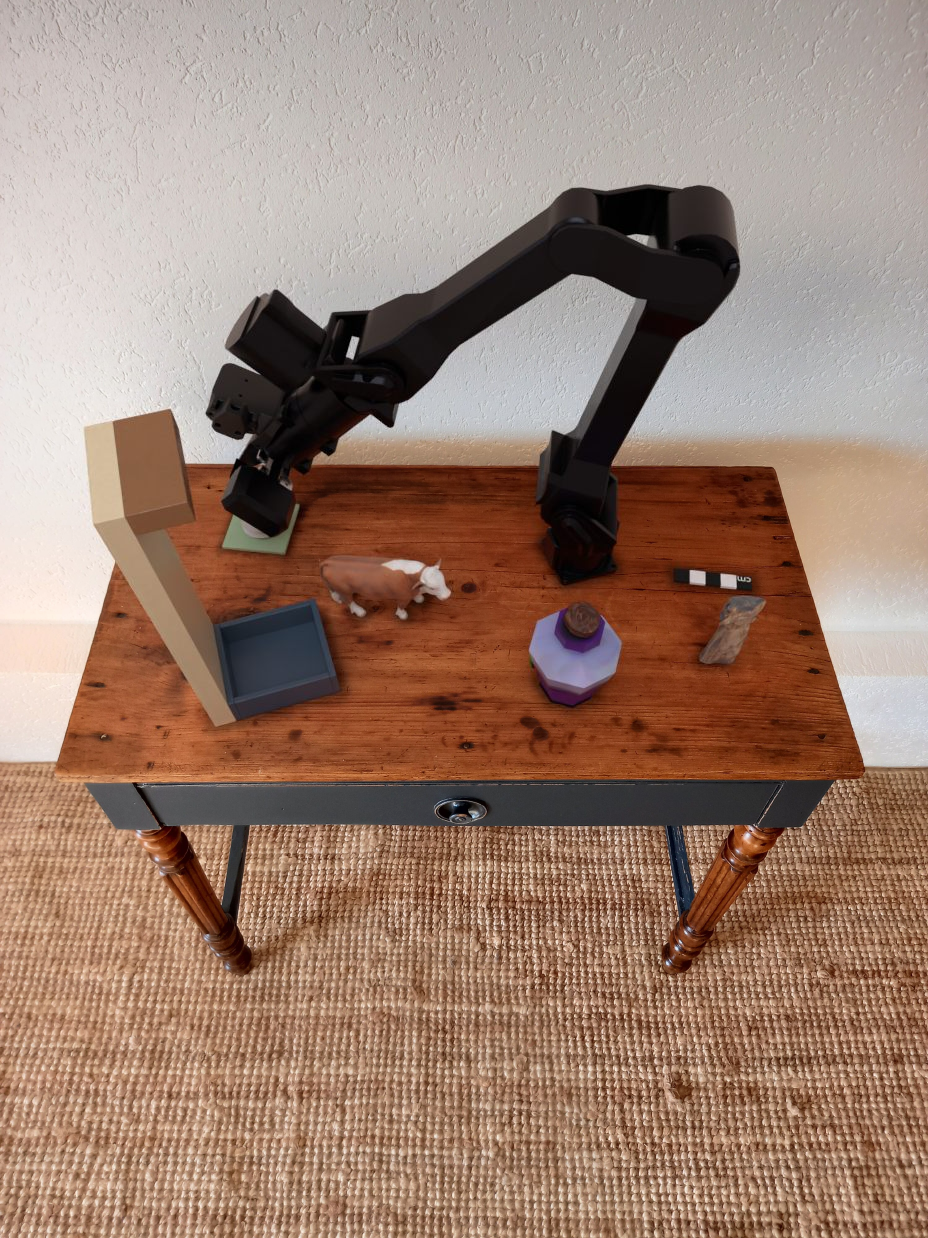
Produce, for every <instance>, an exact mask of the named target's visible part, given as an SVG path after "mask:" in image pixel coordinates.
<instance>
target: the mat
mask: <svg viewBox="0 0 928 1238" xmlns="http://www.w3.org/2000/svg"><path fill="white" fill-rule="evenodd" d="M300 505H301V504H300V503H296V505H295V508H294V512H293V515H292V518H291V521H290V525H289V528H288V529H287V530H286V531H284V532H283V533H281V534H280V535H278V536H276V537H272V538H271V537H268V538H263V539H259V538H254V537H251V536H249V535H248V534H246V533H245V532H244V530H243V528H242V523H241V519H240V518H238V517H236V516H235V515H233V514H232V518H231V520H230V523H229V526H228V527H227V528H228V529H227V531H226V534H225V537H224V539H223V543H222V545H221V548H222V549H223V550H232V551H241V552H243V551H244V552H251V553H260V554H261V553H262V554H273V555H282V556H285V555H286V553H287V550H288V547H289V543H290V539H291V538H292V537H291V536H292V533H293V530H294V527H295V523H296V520H297V517H298V515H299V510H300V507H301V506H300Z"/></svg>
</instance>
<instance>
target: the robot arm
mask: <svg viewBox="0 0 928 1238" xmlns="http://www.w3.org/2000/svg"><path fill="white" fill-rule="evenodd" d="M736 225H737V224H736V217H735V211H734V207H733V205H732V202H731V200H730V199H729V198H728V197H727V195H726V194H725V193H724V192H723V191H721V190H719V189H717V188H715V187H713V186H709V185H703V184H697V185H696V184H695V185H691V186H685V187H683V188H678V187H671V186H666V185H658V184H652V183H646V184H638V185H633V186H632V185H631V186H626V187H621V188H615V189H614V188H613V189H609V190H603V189H596V188H590V187H589V188H588V187H582V186H581V187H579V186H578V187H571V188H568V189H566V190H564V191H562V192H561V193H560V194H559V195H558V196H557V197H556V198H555V199H554V200H553V202H551V204H550V205H549V206H548V207H547V208H545V209H543V211H541V212H539V213H538V214H537V215H535V216H534V217H533V218H531V219H530V220H529V221H527V222H525V223H524V224H523V225H521V226H520V227H518V228H516V229H515V230H514V231H512V232H511V233H510V234H508V235H507V236H506V237H504V238H503V239H502V240H500V241H499V242H497V243H496V244H494V245H493V246H491V247H490V248H489V249H487V250H486V251H485V252H483V253H481V255H479V256H477V257H476V258H475V259H474V260H472V261H471V262H469V263H468V264H466V265H465V266H463V267H462V268H461V269H459V270H458V271H456V272H455V273H454V274H452V275H451V276H449V277H448V278H447V279H445V280H444V281H443V282H441V283H440V284H438V285H437V286H435V287H433V288H430V289H429V290H426V291H424V292H415V293H413V292H411V293H403V294H401V295H399V296H397V297H395V298H393V299H391V300H389V301H386V302H384V303H382V304H380V305H378V306H376V307H374V308H372V309H363V310H361V309H360V310H345V311H344V310H343V311H342V310H341V311H332V312H331V313H330V315H329V318H328V321H327V324H326V325H325V326H324V327H323V328H322V326H320V325H319V324H318V323H316V322H315V321H314V320H313V319H312V318H310V317H309V316H308V315H306V313H304V312H303V311H302V310H300V308H298V307H297V306H296V304H294V303H293V301H292V300H291V299H290V298H288V297H287V296H286V294H284V293H283V292H281V291H280V290H279V289H277V288H275V289H273V290H272V291H271V292H270V293H267V292H264V293H262V294H261V295H259V296H258V295H256V296H254V298H253V299H251V301H250V303H248V305H247V306H246V307H245V309H244V310H243V311H242V313H241V314H240V315H239V317H238V319H237V320H236V321H235V323H234V324H233V326H232V328H231V330H230V332H229V334H228V336H227V338H226V340H225V344H224V349H225V350H226V351H227V352H228V353H230V354H231V355H233V356H234V357H235V358H237V359H238V360H240V361H241V362H242V363H244V364H245V365H247V366H248V367H249V368H250V369H248V368H246V367H243V366H241V365H238V364H235V363H232V362H227V363H224V364H222V366H221V368H220V370H219V372H218V375H217V377H216V378H215V382H214V384H213V387H212V389H211V394H210V397H209V401H208V405H207V408H206V410H205V414H204V415H205V416H206V417H207V418H208V419H209V420H210V421H211V425H210V426H211V428H212V430H213V431H214V432H216V433H217V434H220V435H222V436H225V437H228V438H231V439H233V440H235V441H240V440H244V438H245V435H246V434H247V435H251V436H250V438H249V440H248V442H247V443H246V445H245V446H244V448H243V450H242V452H241V454H240V455H239V458H238V457H236V458H235V461H234V463H233V465H232V469H231V471H230V474H229V477H228V478H229V479H228V481H227V483H226V486H225V489H224V491H223V494H222V497H221V499H220V503H221V506H222V507H223V510H225V511H227V512H228V513H230V514H232V516H233V515H235V516H236V517H238V518H240V519H241V520H243V521H244V522H246V523H248V524H249V525H251V526H253V527H254V528H256V529H258V530H259V531H261V532H262V533H264V534H266V535H267V536H269V537H271V538H272V537H276V536H278V535H280V534H281V533H283V532H284V531H286V530H287V529H288V528H289V525H290V521H291V518H292V515H293V512H294V508H295V505H296V504H297V497H296V494H295V492H294V491H293V487H294V486H293V482H292V481H291V480H290V474H291V472H292V469H293V470H295V471H297V472H298V473H300V474H301V475H302V476H305V475H306V474H308V473H309V472H310V471H311V468H312V465H313V461H314V458H315V457H317V456H318V455H319V454H321V453H323V454H325V455H326V456H327V457H330V456H332V455H333V454H335V453H336V451H337V447H338V444H339V441H340V439H341V438H342V437H343V436H344V435H346V434H347V433H348V432H350V431H351V430H353V428H355V427H356V426H358V425H359V424H360V423H361V422H363V421H364V420H366V418H368V417H369V416H372V417H373V418H375V419H376V420H378V421H379V422H380V423H381V424H382V425H384V426H385V427H387V428H388V429H389V428H390V429H392V428H394V427H395V424H396V420H397V414H398V411H399V406H400V404H402V403H405V402H407V401H409V400H411V399H413V397H414V396H415V395H417V393H419V392H420V391H421V390H422V389H423V388H424V387H426V385H428V384H429V382H431V381H432V380H433V379H434V377H435V376H436V374H437V373H438V372H439V371H440V369H441V368H442V366H443V365H444V364H445V362H446V361H447V359H448V358H449V357H450V355H451V354H452V353H453V352H455V351H456V350H457V349H458V348H459V347H460V346H461V345H463V344H465V343H466V342H468V341H469V340H471V339H472V338H474V337H475V336H477V335H479V334H480V333H482V332H483V331H485V330H486V329H488V328H489V327H491V326H494V324H496V323H497V322H499V321H500V320H502V319H504V318H505V317H507V316H508V315H510V314H511V313H514V311H517V310H518V309H519V308H522V307H523V306H525V304H528V303H529V302H530V301H532V300H534V299H535V298H537V297H538V296H540V295H542V294H543V293H544V292H546V291H548V290H549V289H551V288H553V287H554V286H556V285H557V284H559V283H560V282H562V281H564V280H565V279H567V278H568V277H570V276H571V275H575V276H582V277H589V278H594V279H596V280H598V281H599V282H602V283H604V284H605V285H607V286H610V287H612V288H614V289H615V290H618V291H619V292H621V293H624V294H626V295H627V296H629V297H631V298H635V299H634V303H633V306H632V308H631V310H630V311H629V314H628V315H627V316H628V317H627V319H626V321H625V323H624V325H623V327H622V329H621V331H620V334H619V335H618V338H617V341H616V342H615V344H614V346H613V348H612V350H611V353H610V355H609V357H608V359H607V361H606V363H605V365H604V367H603V370H602V371H601V374H600V376H599V377H598V380H597V382H596V384H595V387H594V388H593V391H592V393H591V395H590V397H589V399H588V401H587V403H586V405H585V407H584V409H583V412H582V414H581V417H580V418H579V420H578V422H577V424H576V426H575V428H574V429H573V430H571V431H569V432H567V433H565V434H564V433H562V432H559V431H556V430H554V429H551V432H550V436H549V441H548V445H547V446H546V448H545V449H544V450H543V451H542V452H541V453H540V454H539V459H538V471H537V481H536V483H537V484H536V493H535V494H536V495H535V505H538V506H539V516H540V519H541V520H543V521H544V522H545V524H546V525H548V526H549V527H547V529H546V531H545V536H544V537H542V539H541V546H542V548H543V555H544V557H545V559H546V561H547V564H548V565H549V568H550V569H551V570H552V571H554V572H555V575H556V577H557V579H558V581H559V584H561V585H562V586H569V585H573V584H577V583H581V582H584V581H588V580H592V579H595V578H599V577H603V576H606V575H610V574H613V573H616V572H617V571H618V564H617V562H616V560H615V558H614V556H613V552H614V548H615V546H616V545H617V543H618V533H619V528H620V525H621V523H620V520H619V518H618V503H619V502H618V496H619V495H618V493H619V492H618V491H619V478H618V477H616V476H615V474H613V472H611V469H612V464H613V462H614V460H615V458H616V456H617V455H618V452H619V451H620V449H621V447H622V446H623V444H624V442H625V440H626V438H627V437H628V435H629V433H630V431H631V429H632V427H633V426H634V423H635V422H636V420H637V418H638V417H639V415H640V413H641V411H642V409H643V408H644V406H645V404H646V402H647V401H648V399H649V397H650V395H651V393H652V391H653V390H654V388H655V386H656V385H657V383H658V381H659V379H660V376H661V375H662V373H663V372H664V369H665V368H666V366H667V364H668V362H669V361H670V359H671V357H672V355H673V354H674V352H675V350H676V348H677V346H678V344H679V343H680V342H681V341H682V340H683V338H684V337H686V336H689V335H690V334H691V333H693V332H694V331H696V330H698V329H700V328H701V327H703V326H704V325H706V324H707V322H708V321H709V320H710V319H711V318H712V316H713V315H714V314H715V313H716V312H717V310H718V309H719V308H720V307H721V305H722V304H723V303H724V302H725V301H726V300H727V299H728V297H729V296H730V295H731V294H732V292H733V291H734V290H735V288H736V285H737V283H738V280H739V278H740V275H741V260H740V259H741V258H740V251H739V241H738V233H737V226H736ZM634 235H635V236H636V235H640V236H645V237H648V238H647V241H646V244H644V243H642V242H640V241H638V240H636V239H634V238H631V237H630V236H634ZM353 338H357V339H358V341H357V344H356V346H355V347H356V348H355V350H354V354H353V357H352V358H351V357H348V352H349V348H350V345H351V341H352V339H353ZM251 369H252V370H253V371H252V370H251ZM263 464H264V465H263ZM256 466H258V467H256Z"/></svg>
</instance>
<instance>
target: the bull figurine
mask: <svg viewBox="0 0 928 1238" xmlns="http://www.w3.org/2000/svg"><path fill="white" fill-rule="evenodd" d="M442 561H443V558H442V557H440V558H439V560H438V561H437V562H436V563H435V565H434V566H429V565H428V564H426V563H424V562H421V561H418V560H411V559H407V558H404V557H403V558H402V557H387V556H372V555H371V556H370V555H369V556H368V555H364V556H363V555H353V554H349V555H348V554H338V555H332V556H329V557H326V559H324V560H323V561H321V562H319V564H318V570H317V571H318V575H319V577H320V579H321V581H322V582H323V585H325V587H326V588H327V590H328V591H329V592H328V593H329V595H330V597H331V599H332V600H333V601H335V602H336V603H338V604H339V605H342V604H343V603H345V604H346V605H347V606H348V607H349V609H350V612H351V614H356V616H357V617H358V618H365V616H366V615H367V611H366V609H364V608H363V607H362V606H360V605H358V604H357V603H356V602H355V601H354V599H353V596H354V594H357V595H359V596H361V597H362V598H364V599H366V600H370V601H374V602H379V601H385V600H395V601H396V606H397V609H396V611H395V613H394V615H395V616H398V618H399V619H400V620H403V621H404V620H407V619H408V617H409V614H408V612H407V610H405V609H406V608H407V607H408V604H410V602H411V601H412V600H413V601H414V602H415V603H417V604H421V603H424V601H425V597H424V595H423V594H426V593H427V594H429V595H433V596H435V597H436V598H437V599H438V600H440V601H442V602H443V601H445V600H447V599H448V598H450V597H451V595H452V591H451V590H450V589H449V588H448V587H447V584H446V581H445V576H444V574H443V572H442V571H441V570H440V568H441V565H442Z"/></svg>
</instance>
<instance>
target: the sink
mask: <svg viewBox="0 0 928 1238" xmlns="http://www.w3.org/2000/svg"><path fill="white" fill-rule="evenodd" d="M178 425H179V424H178V423H177V421H176V418H175V415H174V413H173V410H172V409H171V408H166V409H162V410H158V411H153V412H148V413H143V414H138V415H133V416H129V417H125V418H121V419H115V420H109V421H105V422H100V423H96V424H95V423H94V424H91V425H85V426H83V437H84V446H85V457H86V467H87V477H88V488H89V498H90V499H89V500H90V507H91V508H90V510H91V519H92V525H93V527H94V529H95V530H96V532H97V533H98V535H99V536H100V538H101V540H102V542H103V544H104V545H105V547H106V548H107V551H108V552H109V553H110V555H111V557H112V558H113V560H114V561H115V563H116V565H117V566H118V568H119V570H120V571H121V573H122V575H123V577H124V578H125V580H126V581H127V583H128V584H129V586H130V588H131V590H132V591H133V593H134V594H135V597H136V598H137V600H138V601H139V603H140V604H141V606H142V608H143V609H144V612H145V613H146V614H147V616H148V618H149V620H150V621H151V622H152V624H153V626H154V628H155V629H156V631H157V633H158V634H159V636H160V638H161V640H162V641H163V642H164V644H165V646H166V647H167V649H168V651H169V652H170V654H171V656H172V657H173V659H174V661H175V662H176V663H177V666H178V667H179V669H180V670H181V672H182V674H183V675H184V677H185V680H187V683H188V684H189V686H190V687H191V689H192V691H193V692H194V694H195V696H196V697H197V699H198V700H199V703H200V704H201V705H202V708H203V709H204V710H205V712H206V714H207V715H208V717H209V719H210V721H211V722H212V724H213V725H214V727H215V728H216V727H221V726H223V725H227V724H232V723H235V722H239V721H242V720H246V719H250V718H253V717H256V716H259V715H263V714H267V713H270V712H274V711H277V710H281V709H285V708H288V707H292V706H295V705H299V704H303V703H306V702H309V701H312V700H313V701H314V700H317V699H320V698H324V697H328V696H330V695H334V694H338V693H341V692H342V691H341V688H340V687H341V686H340V684H339V679H338V675H337V671H336V669H335V665H334V661H333V658H332V654H331V651H330V647H329V643H328V640H327V636H326V631H325V628H324V625H323V620H322V618H321V614H320V610H319V607H318V603H317V598H311V599H307V600H304V601H300V602H296V603H292V604H289V605H285V606H280V607H277V608H273V609H269V610H266V611H261V612H258V613H253V614H250V615H246V616H242V617H239V618H235V619H231V620H227V621H223V622H220V623H216V624H213V623H212V620H211V618H210V616H209V615H208V612H207V610H206V609H205V606H204V604H203V602H202V600H201V598H200V596H199V594H198V592H197V590H196V588H195V585H194V584H193V582H192V579H191V577H190V575H189V573H188V571H187V570H186V567H185V565H184V563H183V561H182V559H181V558H180V555H179V553H178V551H177V549H176V547H175V545H174V543H173V541H172V539H171V536H170V534H169V533H168V530H167V529H169V528H173V527H179V526H182V525H186V524H190V523H195V522H196V521H197V519H196V512H195V507H194V504H193V497H192V492H191V486H190V480H189V475H188V470H187V466H186V459H185V455H184V449H183V443H182V439H181V434H180V433H181V432H180V428H179V426H178Z"/></svg>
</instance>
